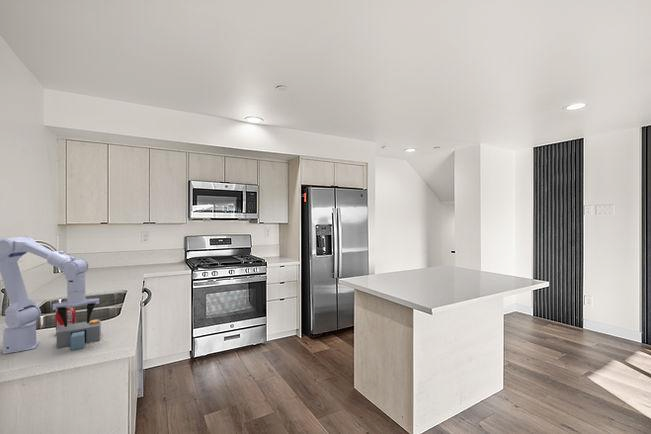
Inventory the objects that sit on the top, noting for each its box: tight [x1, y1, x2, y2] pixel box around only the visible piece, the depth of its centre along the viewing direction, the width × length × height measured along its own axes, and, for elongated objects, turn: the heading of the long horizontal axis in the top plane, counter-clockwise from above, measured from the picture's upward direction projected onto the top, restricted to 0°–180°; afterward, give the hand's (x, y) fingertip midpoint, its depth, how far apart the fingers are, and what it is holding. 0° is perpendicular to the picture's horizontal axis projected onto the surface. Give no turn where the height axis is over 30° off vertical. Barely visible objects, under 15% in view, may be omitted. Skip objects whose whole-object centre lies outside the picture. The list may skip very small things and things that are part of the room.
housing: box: [55, 319, 102, 349], centre depth 138 cm, size 14×9×6 cm, turn 122°
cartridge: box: [70, 330, 86, 351], centre depth 135 cm, size 4×13×5 cm, turn 32°
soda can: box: [54, 307, 77, 333], centre depth 145 cm, size 7×7×12 cm
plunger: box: [90, 318, 100, 325], centre depth 141 cm, size 3×3×5 cm
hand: (77, 324), depth 130 cm, fingers open, 6 cm apart
